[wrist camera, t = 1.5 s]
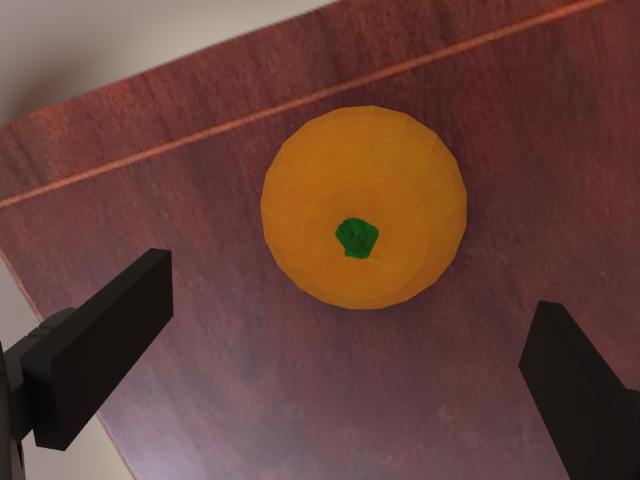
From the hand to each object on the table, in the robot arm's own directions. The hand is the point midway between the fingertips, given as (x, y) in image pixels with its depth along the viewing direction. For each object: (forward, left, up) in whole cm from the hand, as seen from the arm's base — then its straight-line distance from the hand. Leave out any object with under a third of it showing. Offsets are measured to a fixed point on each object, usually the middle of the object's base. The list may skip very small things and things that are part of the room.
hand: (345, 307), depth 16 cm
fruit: (0, 0, -15) cm, 15 cm away
